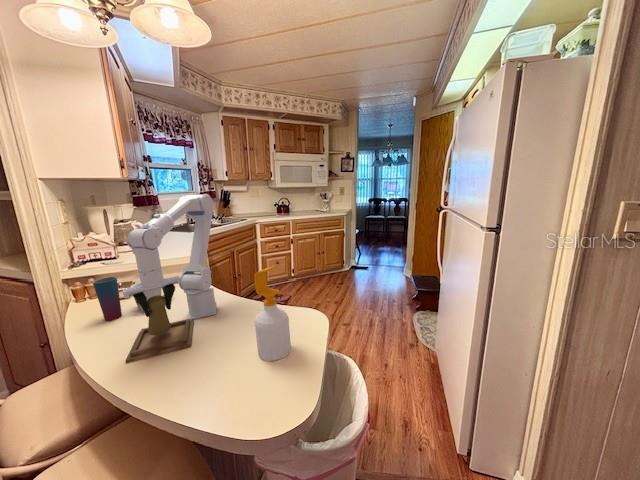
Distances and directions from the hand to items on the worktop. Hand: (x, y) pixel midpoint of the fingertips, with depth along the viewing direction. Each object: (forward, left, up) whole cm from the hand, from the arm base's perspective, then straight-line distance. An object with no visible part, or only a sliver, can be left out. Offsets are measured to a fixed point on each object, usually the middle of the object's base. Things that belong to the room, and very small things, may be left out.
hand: (158, 312), depth 80 cm
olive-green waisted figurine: (+1, -1, -6) cm, 7 cm away
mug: (+7, -31, -10) cm, 33 cm away
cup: (+20, -26, -10) cm, 34 cm away
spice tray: (0, 0, -9) cm, 9 cm away
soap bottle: (-30, +21, -10) cm, 38 cm away
